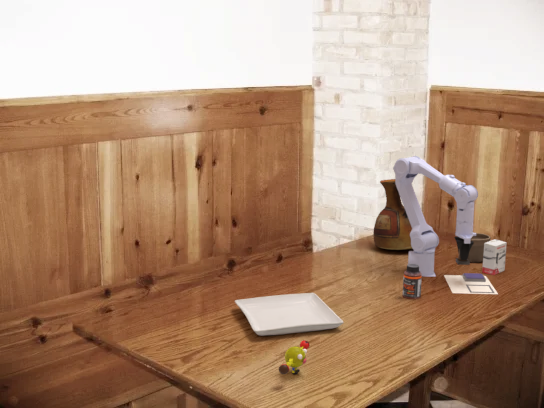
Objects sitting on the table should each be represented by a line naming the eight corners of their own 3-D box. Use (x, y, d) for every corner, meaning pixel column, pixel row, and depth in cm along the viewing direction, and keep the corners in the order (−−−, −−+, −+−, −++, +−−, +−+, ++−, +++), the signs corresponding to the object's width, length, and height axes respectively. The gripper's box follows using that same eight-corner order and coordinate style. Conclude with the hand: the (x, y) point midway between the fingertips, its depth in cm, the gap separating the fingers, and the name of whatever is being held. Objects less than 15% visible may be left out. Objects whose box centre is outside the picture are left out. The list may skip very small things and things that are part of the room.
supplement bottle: (400, 299, 225) (401, 266, 223) (405, 293, 230) (406, 261, 228) (417, 301, 223) (419, 268, 220) (422, 296, 228) (424, 263, 225)
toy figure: (293, 389, 163) (293, 363, 162) (272, 385, 165) (272, 359, 164) (317, 359, 180) (317, 335, 178) (297, 356, 182) (297, 332, 180)
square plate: (254, 343, 192) (254, 330, 191) (233, 310, 217) (233, 298, 217) (344, 332, 199) (344, 320, 198) (314, 301, 224) (314, 290, 224)
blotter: (452, 294, 229) (452, 292, 229) (443, 276, 249) (443, 274, 248) (498, 295, 228) (498, 293, 227) (485, 277, 247) (485, 275, 247)
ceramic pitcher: (393, 240, 300) (395, 173, 294) (430, 249, 285) (433, 179, 279) (363, 248, 287) (364, 178, 281) (400, 258, 272) (402, 184, 266)
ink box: (493, 276, 248) (495, 245, 246) (481, 273, 251) (483, 243, 249) (505, 271, 254) (507, 241, 251) (493, 269, 257) (494, 238, 255)
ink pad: (465, 281, 241) (465, 277, 241) (462, 276, 247) (462, 272, 247) (485, 281, 240) (485, 278, 240) (482, 276, 246) (482, 273, 246)
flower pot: (453, 257, 272) (454, 233, 270) (478, 255, 276) (479, 231, 274) (469, 265, 261) (471, 240, 259) (495, 263, 265) (496, 238, 263)
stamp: (458, 264, 237) (458, 250, 235) (455, 261, 240) (456, 247, 239) (469, 264, 236) (470, 250, 235) (467, 261, 240) (467, 247, 239)
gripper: (480, 225, 228) (478, 264, 230) (473, 216, 242) (471, 253, 245) (459, 225, 229) (457, 264, 231) (452, 215, 243) (451, 252, 245)
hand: (463, 258), depth 238 cm, fingers closed on stamp, 3 cm apart
